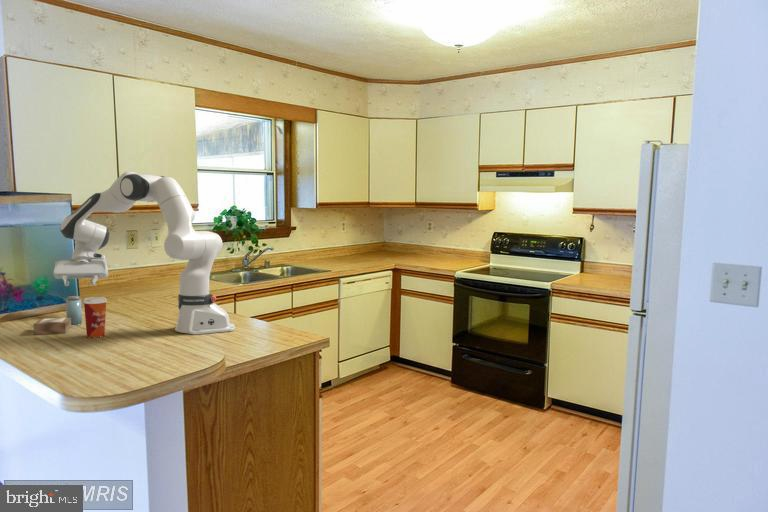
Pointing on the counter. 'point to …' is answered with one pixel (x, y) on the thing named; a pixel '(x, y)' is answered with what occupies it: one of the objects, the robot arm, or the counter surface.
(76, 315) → the jar
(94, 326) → the paper cup
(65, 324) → the base
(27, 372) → the counter surface
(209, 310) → the robot arm
